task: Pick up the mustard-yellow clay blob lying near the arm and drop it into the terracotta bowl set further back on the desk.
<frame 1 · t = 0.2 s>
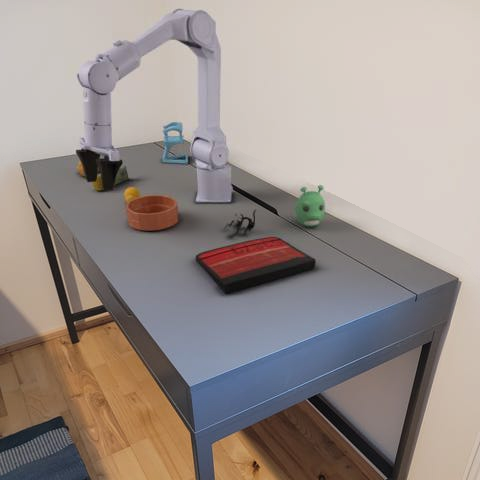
hand: (99, 185, 111), 10 cm above the table, tool pointing down, fingers open, 7 cm apart
alien toy: (309, 227, 117), on the table
blob: (133, 202, 130), on the table
medication box: (111, 185, 141), on the table
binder: (252, 265, 102), on the table
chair: (175, 161, 160), on the table
bowl: (153, 221, 120), on the table
creature: (239, 232, 115), on the table
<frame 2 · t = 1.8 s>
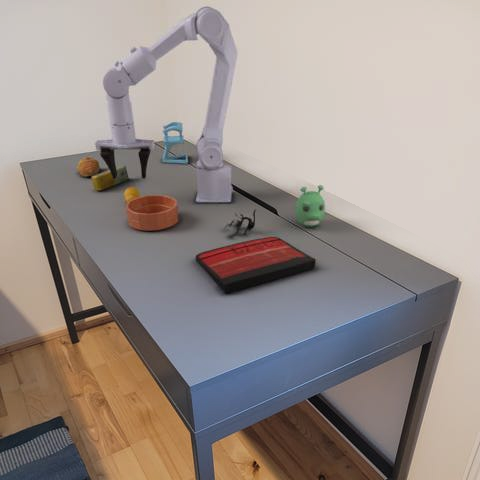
hand: (129, 177, 126), 7 cm above the table, tool pointing down, fingers open, 7 cm apart
nothing on the table moved.
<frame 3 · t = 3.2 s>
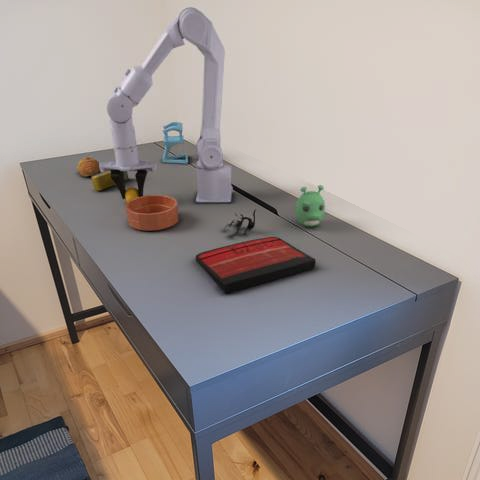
hand: (132, 197, 129), 1 cm above the table, tool pointing down, fingers closed on blob, 4 cm apart
blob: (133, 202, 130), on the table, touching gripper
everything else where it was.
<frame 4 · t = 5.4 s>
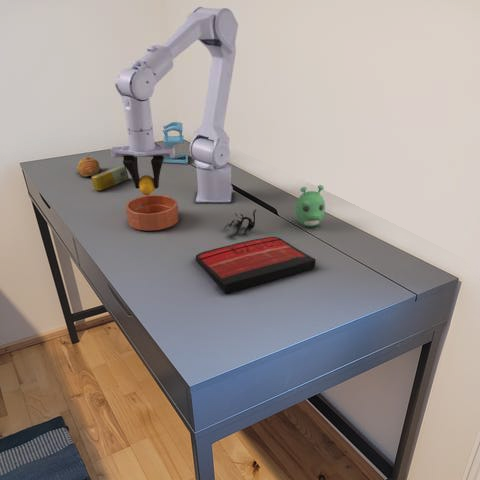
hand: (147, 187, 116), 8 cm above the table, tool pointing down, fingers closed on blob, 4 cm apart
blob: (148, 192, 117), point 7 cm above the table, touching gripper
everything else where it was.
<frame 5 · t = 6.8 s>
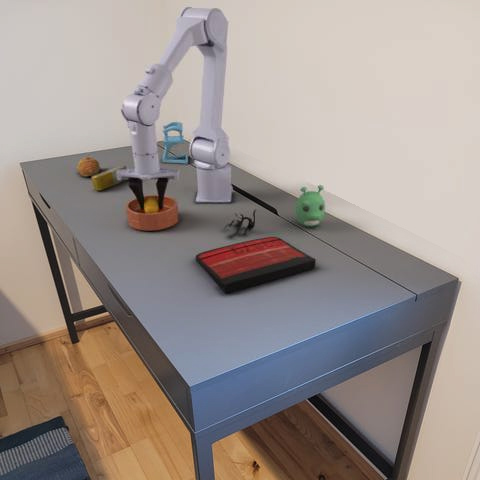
hand: (152, 208, 118), 4 cm above the table, tool pointing down, fingers closed on blob, 4 cm apart
blob: (152, 213, 119), point 2 cm above the table, touching gripper
everything else where it was.
when the fingers open (2 cm above the table, at t = 7.7 s): blob stays where it is, resting on bowl.
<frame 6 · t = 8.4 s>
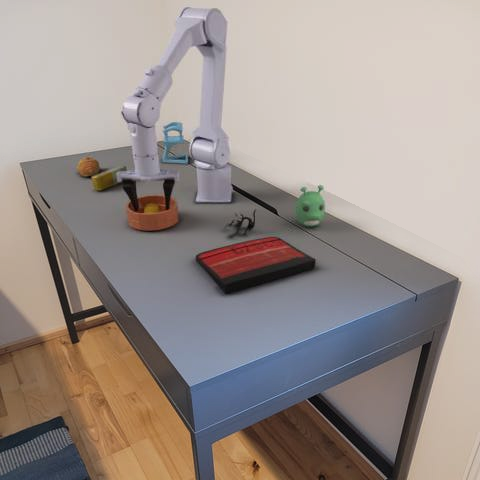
hand: (152, 209, 118), 3 cm above the table, tool pointing down, fingers open, 7 cm apart
blob: (153, 219, 120), point 1 cm above the table, touching bowl
everything else where it was.
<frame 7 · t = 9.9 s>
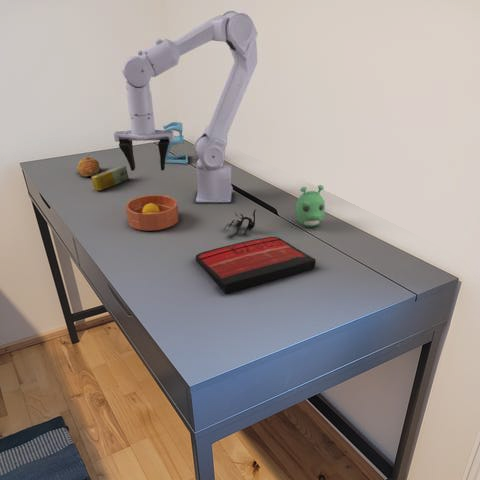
hand: (148, 169, 124), 9 cm above the table, tool pointing down, fingers open, 7 cm apart
blob: (153, 219, 120), point 1 cm above the table, tilted 10°, touching bowl
everything else where it was.
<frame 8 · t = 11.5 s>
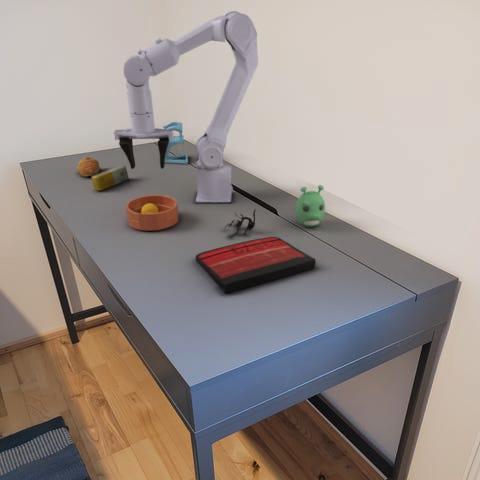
hand: (147, 167, 125), 9 cm above the table, tool pointing down, fingers open, 7 cm apart
blob: (153, 219, 120), point 1 cm above the table, tilted 18°, touching bowl
everything else where it was.
at the end: blob inside the target area in the bowl (0.0 cm from its centre), point 0.6 cm above the bowl's base; the gripper is holding nothing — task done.
